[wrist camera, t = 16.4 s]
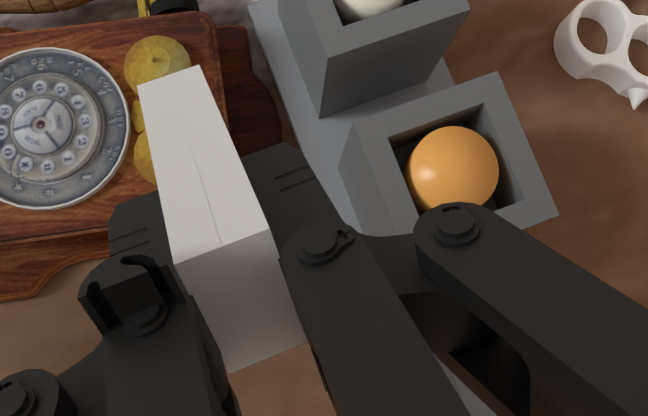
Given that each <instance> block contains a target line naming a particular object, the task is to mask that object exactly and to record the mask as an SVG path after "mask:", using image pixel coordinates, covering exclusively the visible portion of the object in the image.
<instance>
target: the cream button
mask: <svg viewBox="0 0 648 416" xmlns="http://www.w3.org/2000/svg"><path fill="white" fill-rule="evenodd" d="M332 1H333V3H334V6H335V8H336V11H337V13H338V16H339V18H340V21H341V23H342V26H346V25H349V24H352V23H355V22H358V21H361V20H364V19H367V18H370V17H372V16H375V15H378V14H381V13H384V12H387V11H390V10H393V9H396V8H399V7H402V5H403V2H404V0H332Z"/></svg>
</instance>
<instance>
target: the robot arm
mask: <svg viewBox="0 0 648 416" xmlns="http://www.w3.org/2000/svg"><path fill="white" fill-rule="evenodd" d="M137 89H138V94H139V99H140V104H141V109H142V113H143V118H144V123H145V128H146V133H147V138H148V143H149V147H150V152H151V157H152V162H153V167H154V172H155V177H156V181H157V186H158V190H156V191H153V192H150V193H147V194H145V195H142V196H139V197H136V198H134V199H131V200H128V201H125V202H123V203H120V204H117V205H116V207H115V209H114V211H113V213H112V215H111V217H110V219H109V221H108V223H107V225H108V238H109V243H110V244H109V251H110V257H111V258H109V259H107V260H105V261H103V262H102V263H101V264H99V265H98V266H97V267H96V268H95V269H93V270H92V271H91V272H90V273H89V274H88V276H87V277H86V279H85V280H84V281H83V283H82V284H81V286H80V290H79V294H78V298H77V299H78V300H79V302H80V303H81V305H82V306H83V308H84V309H85V311H86V312H87V313H88V315H89V316H90V318H91V319H92V321H93V322H94V324H95V325H96V327H97V328H98V330H99V331H100V332H101V334H102V337H103V341H102V342H101V343H100V344H99V345H98V346H97V347H96V348H95V349H94V351H92V352H91V353H90V354H89V355H87V356H86V357H85V358H84V359H82V360H81V361H80V362H78V363H77V364H75V365H74V366H72V367H71V368H69V369H68V370H66V371H65V372H63V373H62V374H60V375H59V376H57V377H55V376H54V375H53V374H51V373H49V372H47V371H45V370H43V369H28V370H24V371H21V372H18V373H15V374H13V375H10V376H8V377H6V378H5V379H3V380H2V381H0V416H242V415H241V411H240V407H239V403H238V400H237V398H236V396H235V394H234V392H233V390H232V388H231V386H230V384H229V382H228V378H227V374H226V371H225V367H226V368H227V370H228V372H229V374H231V373H233V372H235V371H238V370H240V369H243V368H245V367H248V366H250V365H253V364H255V363H257V362H260V361H262V360H265V359H267V358H270V357H272V356H274V355H277V354H279V353H282V352H284V351H287V350H289V349H291V348H294V347H296V346H299V345H301V344H304V343H306V342H309V345H310V347H311V350H312V353H313V356H314V359H315V361H316V364H317V367H318V370H319V373H320V376H321V378H322V381H323V384H324V387H325V390H326V391H328V394H329V396H330V399H331V401H332V404H333V406H334V409H335V411H336V414H337V416H471V414H470V413H469V411H468V410H467V408H466V406H465V405H464V403H463V401H462V400H461V398H460V397H459V395H458V393H457V392H456V390H455V388H454V387H453V385H452V383H451V382H450V380H449V379H448V377H447V375H446V374H445V372H444V370H443V369H442V367H441V366H440V364H439V362H438V361H437V359H436V357H437V358H438V359H439V360H440V361H441V362H442V363H443V364H444V365H445V366H446V367H447V368H448V369H449V370H450V371H451V372H452V373H453V374H454V375H455V376H456V377H457V378H458V379H460V380H461V381H462V382H463V383H464V384H465V385H466V386H467V387H468V388H469V389H470V390H471V391H472V392H473V393H474V394H475V395H476V396H477V397H478V398H479V399H480V400H481V401H482V402H484V403H485V404H486V405H487V406H488V407H489V408H490V409H491V410H492V411H493V412H494V413H495V414H496V415H497V416H648V310H647V309H646V308H644V307H643V306H641V305H639V304H638V303H636V302H635V301H633V300H631V299H630V298H628V297H627V296H625V295H624V294H622V293H620V292H619V291H617V290H616V289H614V288H613V287H611V286H609V285H608V284H606V283H605V282H603V281H601V280H600V279H598V278H597V277H595V276H594V275H592V274H590V273H589V272H587V271H586V270H584V269H583V268H581V267H579V266H578V265H576V264H575V263H573V262H572V261H570V260H568V259H567V258H565V257H564V256H562V255H560V254H559V253H557V252H556V251H554V250H553V249H551V248H549V247H548V246H546V245H545V244H543V243H542V242H540V241H538V240H537V239H535V238H534V237H532V236H530V235H529V234H527V233H526V232H524V231H523V230H521V229H519V228H518V227H516V226H515V225H513V224H512V223H510V222H508V221H507V220H505V219H504V218H502V217H500V216H499V215H497V214H496V213H494V212H493V211H491V210H489V209H487V208H485V207H483V206H480V205H478V204H475V203H468V202H452V203H445V204H441V205H438V206H436V207H434V208H431V209H429V210H427V211H426V212H425V213H424V214H423V215H422V216H421V217H419V218H418V219H417V222H416V224H415V226H414V228H413V233H409V234H402V235H395V236H381V237H378V236H369V235H365V234H362V233H359V232H357V231H356V230H355V229H354V228H353V227H352V226H350V225H347V224H346V223H345V222H344V221H343V220H342V218H341V217H340V215H339V213H338V212H337V210H336V208H335V207H334V205H333V203H332V202H331V200H330V198H329V197H328V195H327V193H326V192H325V190H324V188H323V187H322V185H321V183H320V182H319V180H318V179H317V177H316V175H315V173H314V172H313V170H312V168H310V165H309V163H308V162H307V160H306V158H305V157H304V155H303V153H302V152H301V150H299V149H297V148H295V147H293V146H291V145H289V144H287V143H285V142H282V143H280V144H277V145H274V146H271V147H269V148H266V149H263V150H260V151H258V152H255V153H252V154H249V155H247V156H244V157H241V158H239V156H238V153H237V151H236V149H235V146H234V144H233V142H232V140H231V137H230V135H229V133H228V130H227V128H226V126H225V123H224V121H223V119H222V116H221V114H220V112H219V109H218V107H217V105H216V102H215V100H214V98H213V95H212V93H211V91H210V88H209V86H208V84H207V82H206V79H205V77H204V75H203V72H202V70H201V68H200V65H196V66H193V67H190V68H187V69H184V70H181V71H178V72H175V73H172V74H169V75H166V76H164V77H161V78H158V79H155V80H152V81H149V82H146V83H143V84H140V85H137ZM434 354H435V355H436V357H435V356H434ZM224 365H225V367H224Z"/></svg>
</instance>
